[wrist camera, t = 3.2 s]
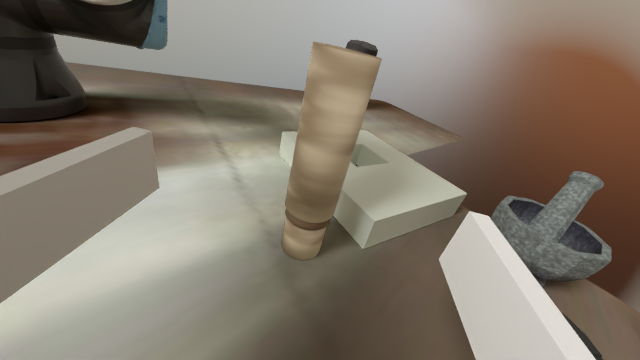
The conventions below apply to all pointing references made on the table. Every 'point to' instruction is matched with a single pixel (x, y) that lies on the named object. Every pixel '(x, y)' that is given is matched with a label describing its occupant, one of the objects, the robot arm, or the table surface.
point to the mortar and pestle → (554, 232)
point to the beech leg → (325, 142)
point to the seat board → (386, 191)
